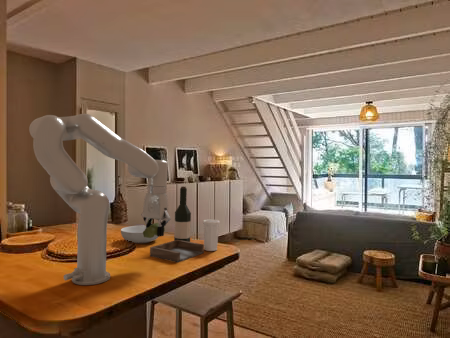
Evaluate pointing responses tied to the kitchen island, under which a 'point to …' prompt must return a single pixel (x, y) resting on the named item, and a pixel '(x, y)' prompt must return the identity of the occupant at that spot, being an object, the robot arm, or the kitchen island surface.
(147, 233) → the pear
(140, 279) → the kitchen island surface
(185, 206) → the wine bottle
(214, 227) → the cup
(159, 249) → the tray
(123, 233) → the serving bowl
